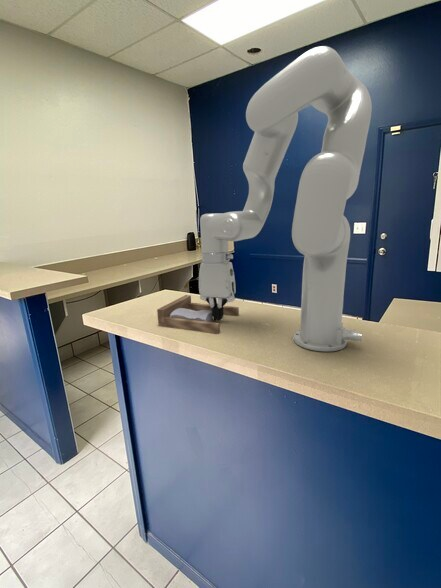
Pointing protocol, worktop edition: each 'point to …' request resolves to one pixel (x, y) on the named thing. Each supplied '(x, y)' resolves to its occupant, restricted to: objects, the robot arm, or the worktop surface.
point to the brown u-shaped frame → (188, 324)
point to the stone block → (192, 314)
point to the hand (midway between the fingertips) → (218, 319)
